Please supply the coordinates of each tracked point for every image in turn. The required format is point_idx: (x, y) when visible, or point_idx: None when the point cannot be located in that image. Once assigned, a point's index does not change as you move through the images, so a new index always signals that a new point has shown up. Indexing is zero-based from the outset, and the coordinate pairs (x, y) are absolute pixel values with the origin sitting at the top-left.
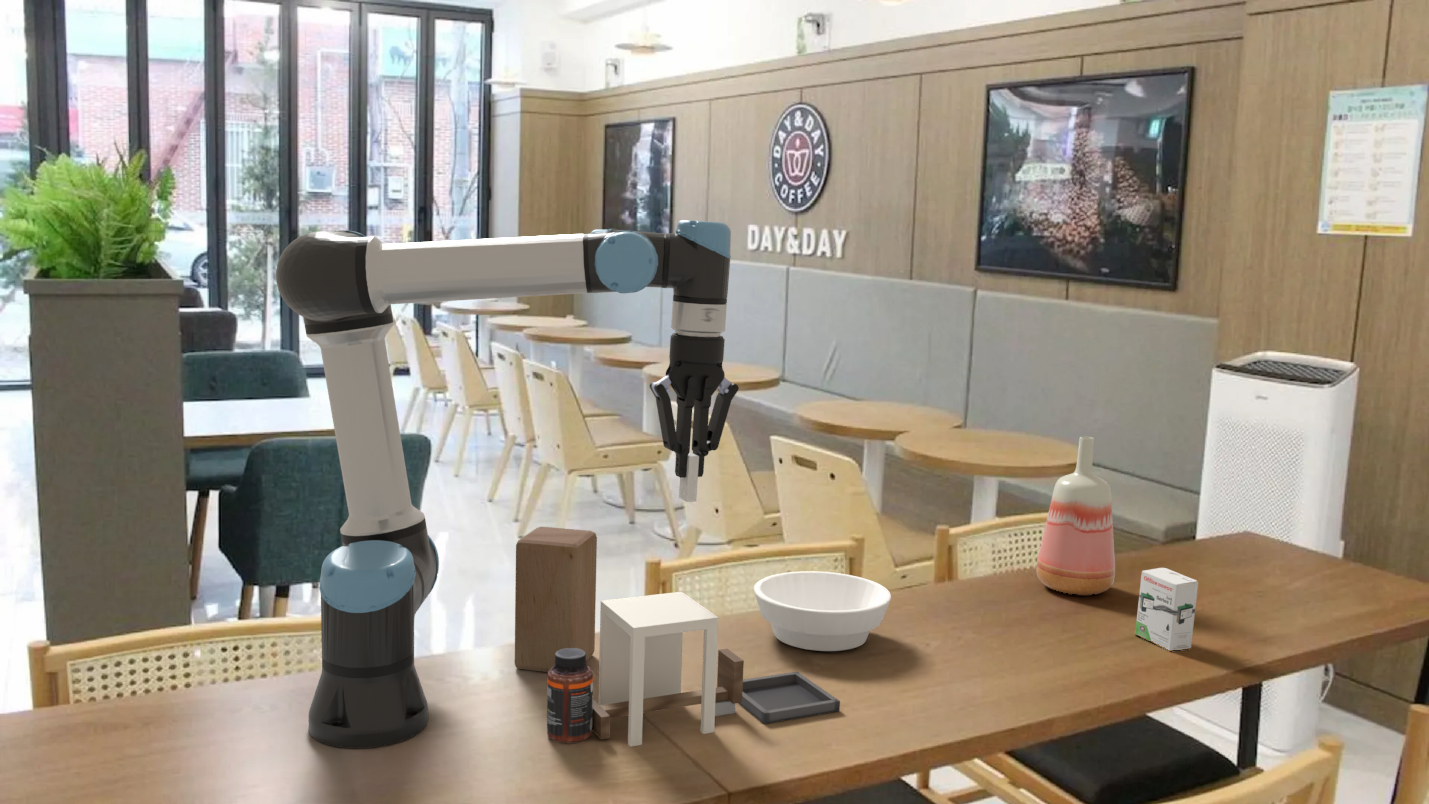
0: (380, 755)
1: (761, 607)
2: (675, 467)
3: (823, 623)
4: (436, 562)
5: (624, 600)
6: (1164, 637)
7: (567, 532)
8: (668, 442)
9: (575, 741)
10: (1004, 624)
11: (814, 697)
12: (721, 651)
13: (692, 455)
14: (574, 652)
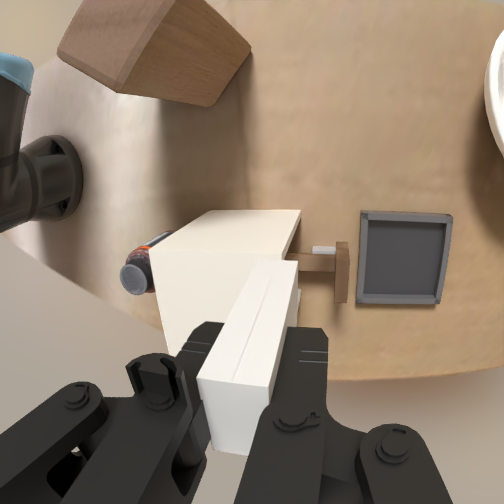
0: (62, 230)
1: (486, 82)
2: (185, 344)
3: None
4: (8, 81)
5: (179, 262)
6: None
7: (128, 1)
8: (74, 459)
9: None
10: None
11: (436, 266)
12: (337, 266)
13: (238, 442)
14: (136, 281)
